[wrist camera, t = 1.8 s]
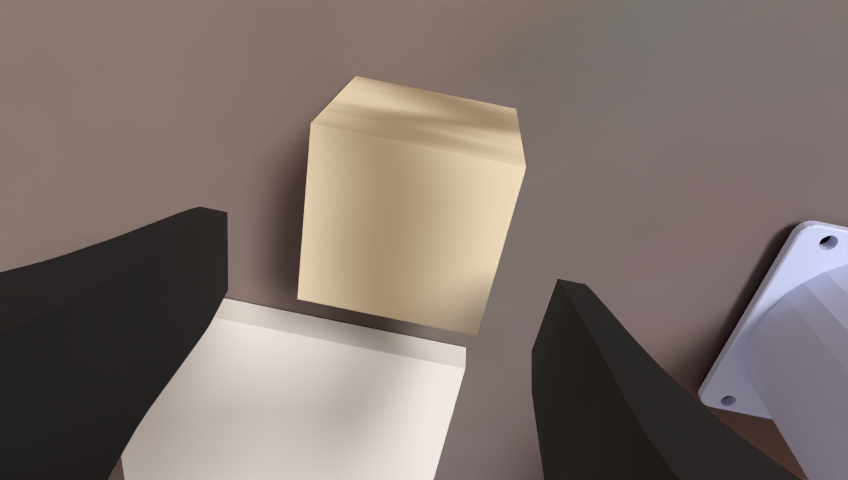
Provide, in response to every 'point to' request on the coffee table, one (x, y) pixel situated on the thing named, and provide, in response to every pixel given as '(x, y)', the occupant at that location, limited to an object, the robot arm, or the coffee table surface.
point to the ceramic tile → (299, 403)
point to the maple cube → (408, 203)
